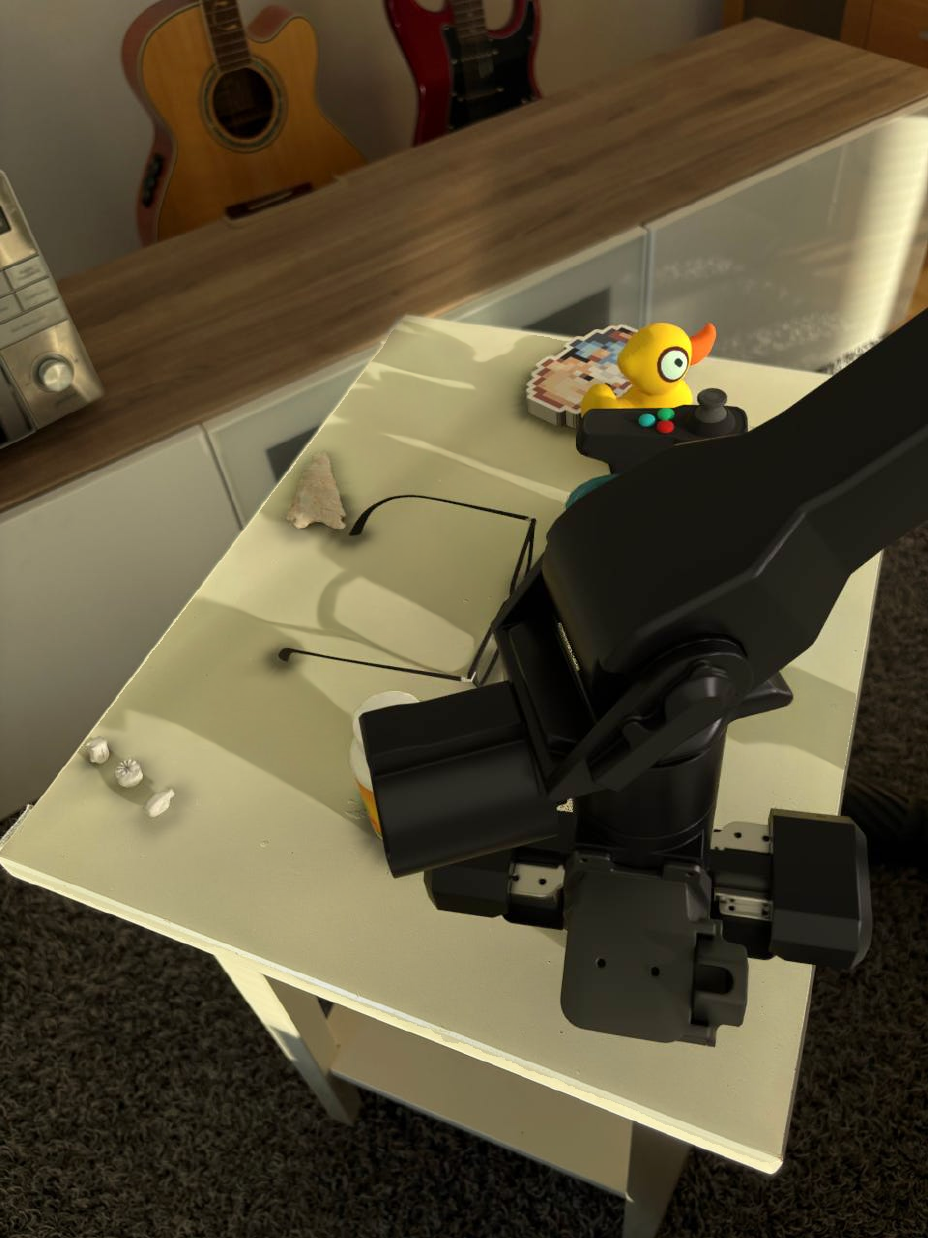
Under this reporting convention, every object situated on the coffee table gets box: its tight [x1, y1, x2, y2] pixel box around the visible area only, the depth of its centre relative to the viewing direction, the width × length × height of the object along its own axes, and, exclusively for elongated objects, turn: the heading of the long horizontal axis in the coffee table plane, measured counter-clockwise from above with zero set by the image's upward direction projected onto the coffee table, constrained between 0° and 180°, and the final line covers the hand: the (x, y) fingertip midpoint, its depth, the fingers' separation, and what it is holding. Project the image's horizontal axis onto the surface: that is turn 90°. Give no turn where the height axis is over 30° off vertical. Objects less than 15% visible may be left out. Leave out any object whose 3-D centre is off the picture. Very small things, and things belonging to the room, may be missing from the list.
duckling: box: [581, 322, 717, 417], centre depth 77 cm, size 11×5×10 cm, turn 111°
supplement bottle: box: [349, 690, 420, 840], centre depth 55 cm, size 5×5×10 cm
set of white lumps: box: [85, 735, 176, 818], centre depth 62 cm, size 8×2×2 cm, turn 52°
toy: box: [525, 323, 640, 430], centre depth 86 cm, size 14×2×10 cm
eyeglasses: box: [278, 494, 538, 688], centre depth 69 cm, size 16×16×4 cm
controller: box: [574, 387, 749, 474], centre depth 71 cm, size 4×12×10 cm, turn 80°
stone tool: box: [285, 451, 347, 530], centre depth 80 cm, size 5×1×10 cm
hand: (637, 942), depth 49 cm, fingers open, 5 cm apart
